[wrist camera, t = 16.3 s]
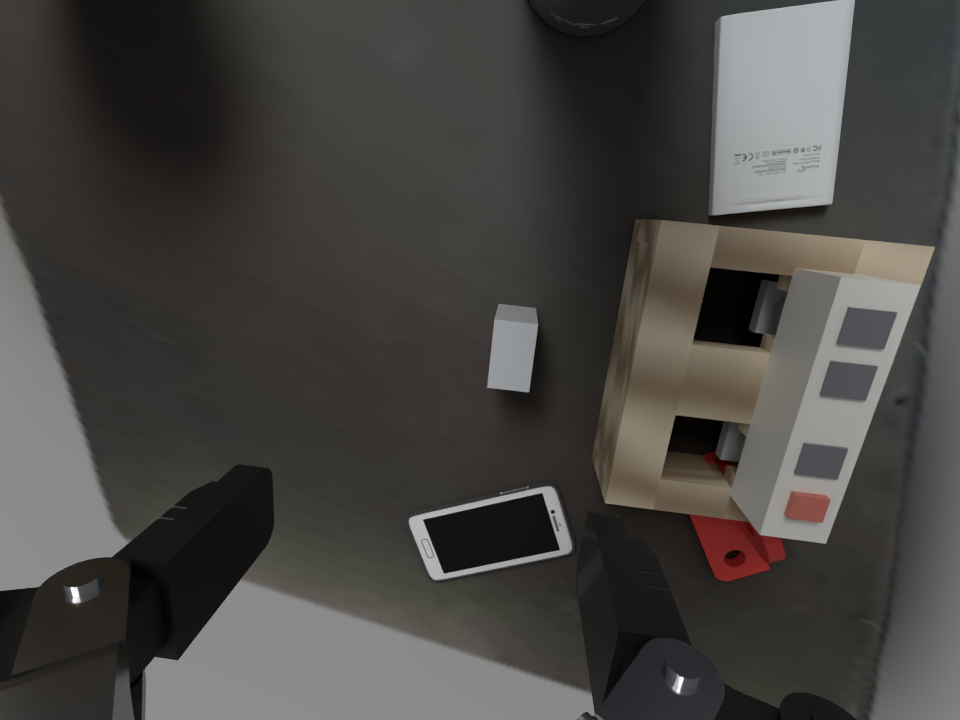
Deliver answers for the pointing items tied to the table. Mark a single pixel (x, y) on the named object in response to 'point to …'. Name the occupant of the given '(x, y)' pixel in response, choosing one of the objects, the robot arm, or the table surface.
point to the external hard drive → (778, 106)
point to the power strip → (814, 396)
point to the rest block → (513, 348)
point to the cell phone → (491, 532)
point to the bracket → (734, 541)
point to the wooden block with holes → (701, 353)
